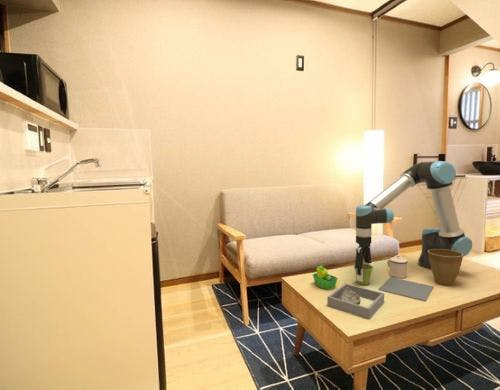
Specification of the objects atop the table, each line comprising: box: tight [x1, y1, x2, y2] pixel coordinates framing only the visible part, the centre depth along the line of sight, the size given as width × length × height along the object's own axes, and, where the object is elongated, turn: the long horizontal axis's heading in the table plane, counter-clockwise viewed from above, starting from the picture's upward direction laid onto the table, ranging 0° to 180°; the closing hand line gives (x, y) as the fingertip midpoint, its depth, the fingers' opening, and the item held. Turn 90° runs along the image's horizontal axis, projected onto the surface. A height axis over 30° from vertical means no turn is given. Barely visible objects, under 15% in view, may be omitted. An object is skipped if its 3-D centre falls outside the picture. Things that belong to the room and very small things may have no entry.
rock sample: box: [339, 287, 362, 305], centre depth 125 cm, size 10×8×9 cm
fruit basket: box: [312, 265, 338, 291], centre depth 144 cm, size 11×9×11 cm
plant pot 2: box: [428, 249, 464, 286], centre depth 145 cm, size 15×15×16 cm
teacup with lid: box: [386, 254, 408, 279], centre depth 157 cm, size 12×9×12 cm
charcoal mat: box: [378, 276, 435, 302], centre depth 139 cm, size 20×20×1 cm
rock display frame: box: [326, 283, 385, 320], centre depth 125 cm, size 19×18×4 cm
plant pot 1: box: [353, 263, 374, 286], centre depth 147 cm, size 9×9×9 cm
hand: (363, 277), depth 147 cm, fingers closed on plant pot 1, 9 cm apart
